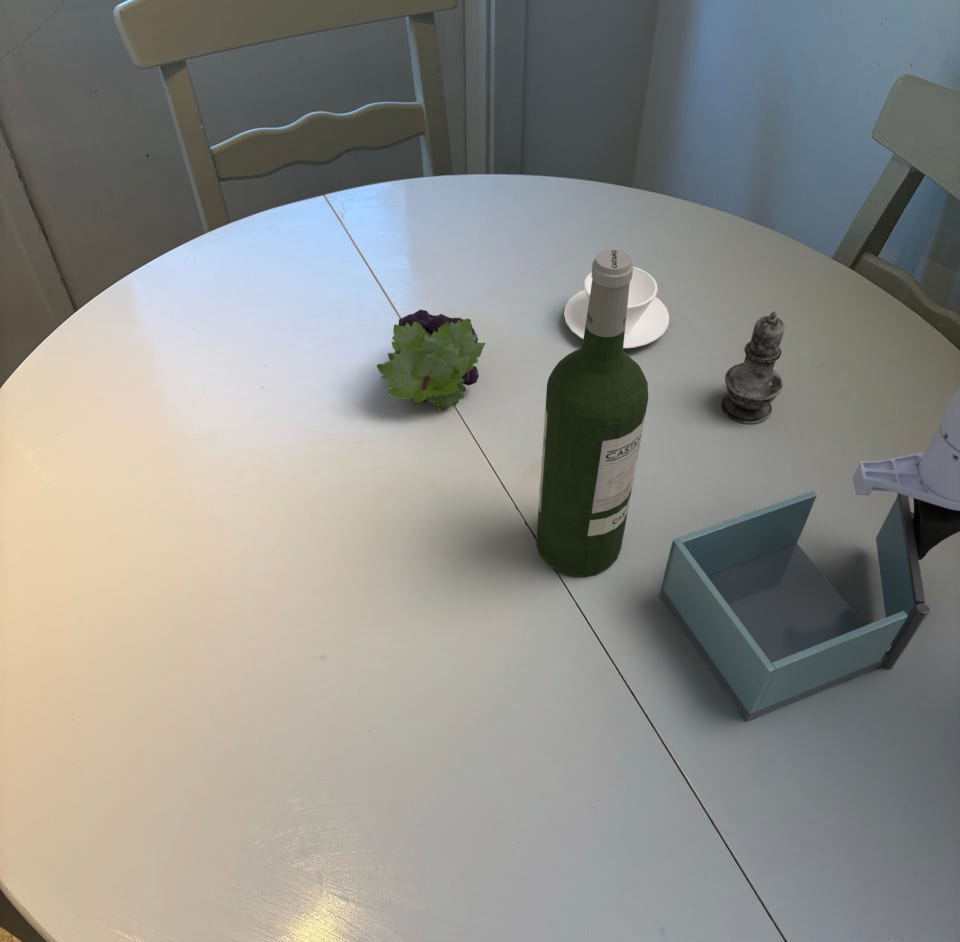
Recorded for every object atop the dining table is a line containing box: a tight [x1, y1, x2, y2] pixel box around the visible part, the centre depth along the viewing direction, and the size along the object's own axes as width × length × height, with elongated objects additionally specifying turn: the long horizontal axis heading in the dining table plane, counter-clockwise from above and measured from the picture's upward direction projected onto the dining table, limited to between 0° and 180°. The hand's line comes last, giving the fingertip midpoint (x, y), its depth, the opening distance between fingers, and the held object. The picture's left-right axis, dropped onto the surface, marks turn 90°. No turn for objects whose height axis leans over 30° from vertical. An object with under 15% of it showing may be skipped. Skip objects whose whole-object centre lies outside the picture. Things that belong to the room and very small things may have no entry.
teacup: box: [563, 266, 670, 349], centre depth 104 cm, size 12×12×5 cm
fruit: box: [376, 309, 487, 412], centre depth 96 cm, size 10×11×15 cm
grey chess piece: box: [720, 311, 786, 425], centre depth 92 cm, size 6×6×12 cm
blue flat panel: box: [875, 493, 926, 647], centre depth 78 cm, size 12×2×6 cm, turn 170°
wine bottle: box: [535, 248, 649, 577], centre depth 74 cm, size 8×8×30 cm
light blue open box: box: [659, 490, 930, 722], centre depth 76 cm, size 14×14×8 cm
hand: (913, 550), depth 79 cm, fingers closed
